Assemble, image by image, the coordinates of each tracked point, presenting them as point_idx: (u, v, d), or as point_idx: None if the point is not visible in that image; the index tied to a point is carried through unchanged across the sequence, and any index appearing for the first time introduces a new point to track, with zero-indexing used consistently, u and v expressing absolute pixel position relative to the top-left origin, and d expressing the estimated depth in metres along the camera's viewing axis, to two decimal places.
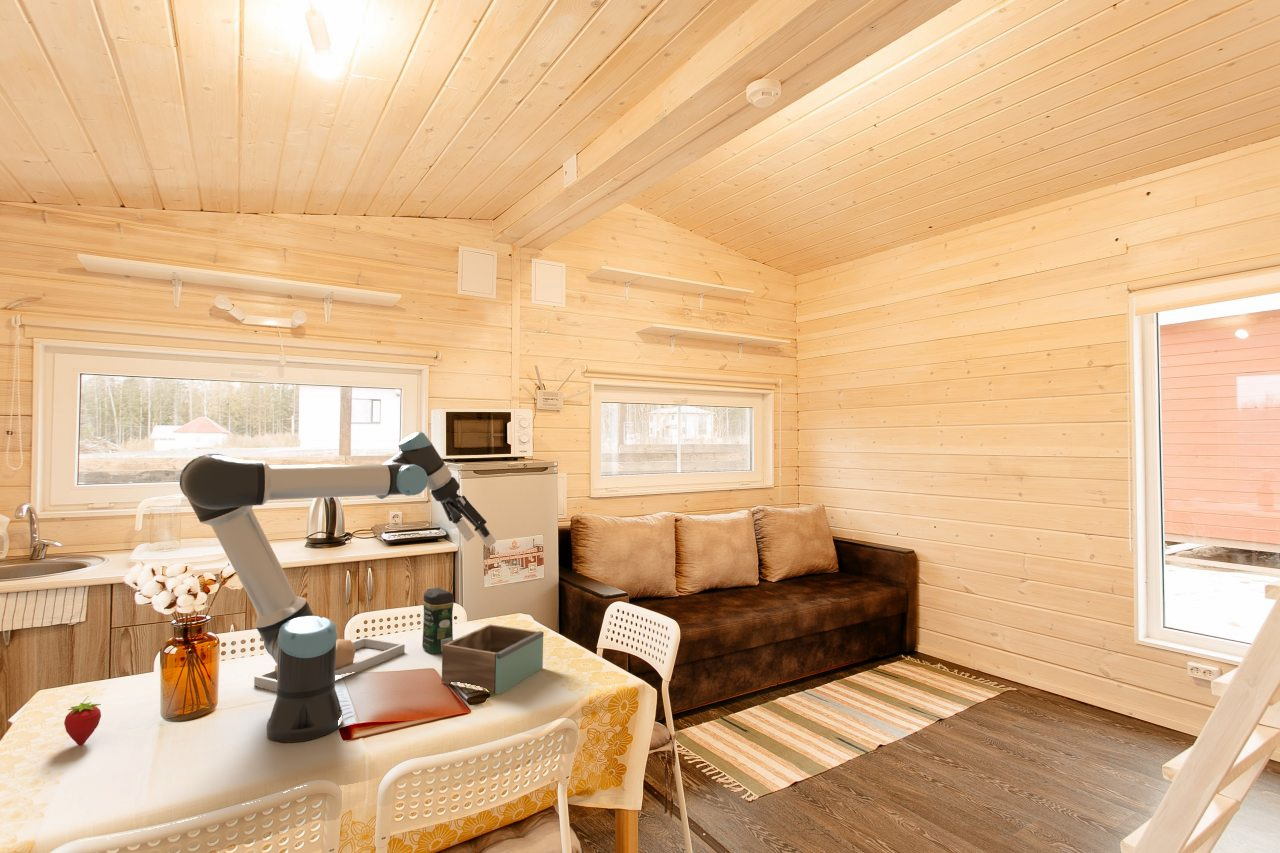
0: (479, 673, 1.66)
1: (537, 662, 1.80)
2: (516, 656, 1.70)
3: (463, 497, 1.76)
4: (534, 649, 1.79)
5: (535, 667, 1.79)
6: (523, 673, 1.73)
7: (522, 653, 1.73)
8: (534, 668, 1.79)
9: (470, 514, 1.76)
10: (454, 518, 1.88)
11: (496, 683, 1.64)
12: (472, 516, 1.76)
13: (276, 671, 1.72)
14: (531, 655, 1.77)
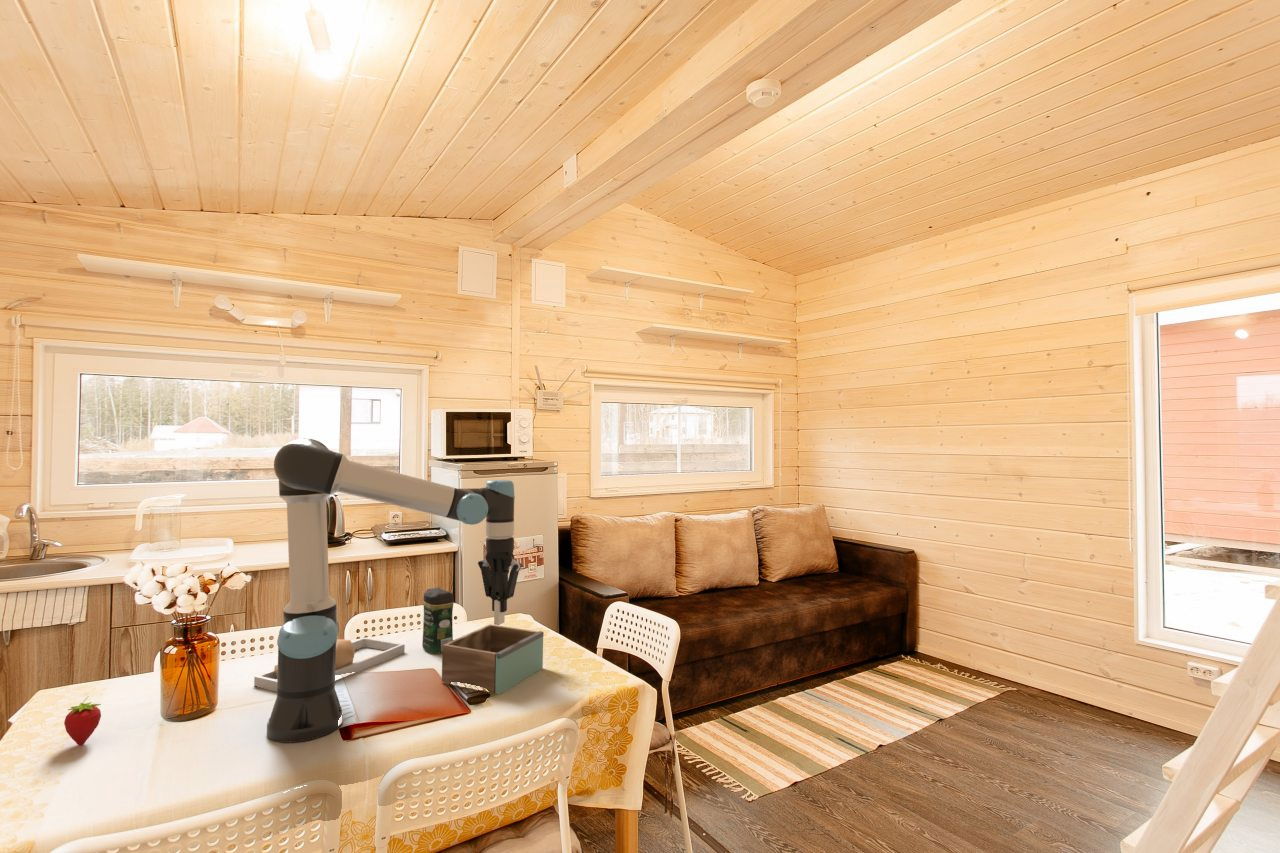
0: (479, 673, 1.66)
1: (537, 662, 1.80)
2: (516, 656, 1.70)
3: (520, 566, 1.75)
4: (534, 649, 1.79)
5: (535, 667, 1.79)
6: (523, 673, 1.73)
7: (522, 653, 1.73)
8: (534, 668, 1.79)
9: (512, 583, 1.74)
10: (495, 589, 1.76)
11: (496, 683, 1.64)
12: (511, 586, 1.74)
13: (275, 671, 1.72)
14: (531, 655, 1.77)
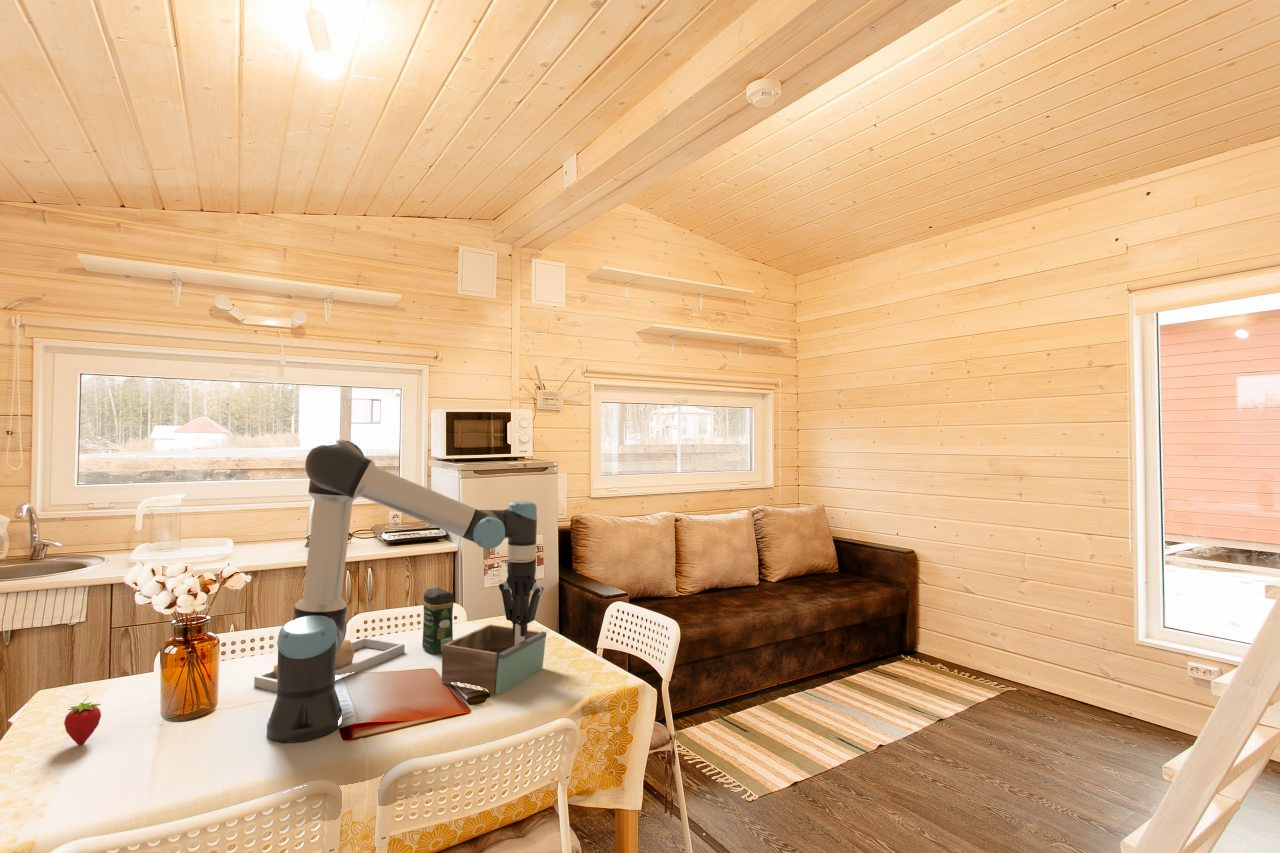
0: (479, 673, 1.66)
1: (538, 662, 1.80)
2: (518, 656, 1.70)
3: (542, 590, 1.72)
4: (536, 649, 1.78)
5: (535, 667, 1.79)
6: (523, 673, 1.73)
7: (524, 653, 1.73)
8: (534, 669, 1.79)
9: (533, 607, 1.71)
10: (516, 613, 1.73)
11: (497, 682, 1.64)
12: (533, 610, 1.72)
13: (275, 671, 1.72)
14: (532, 655, 1.77)
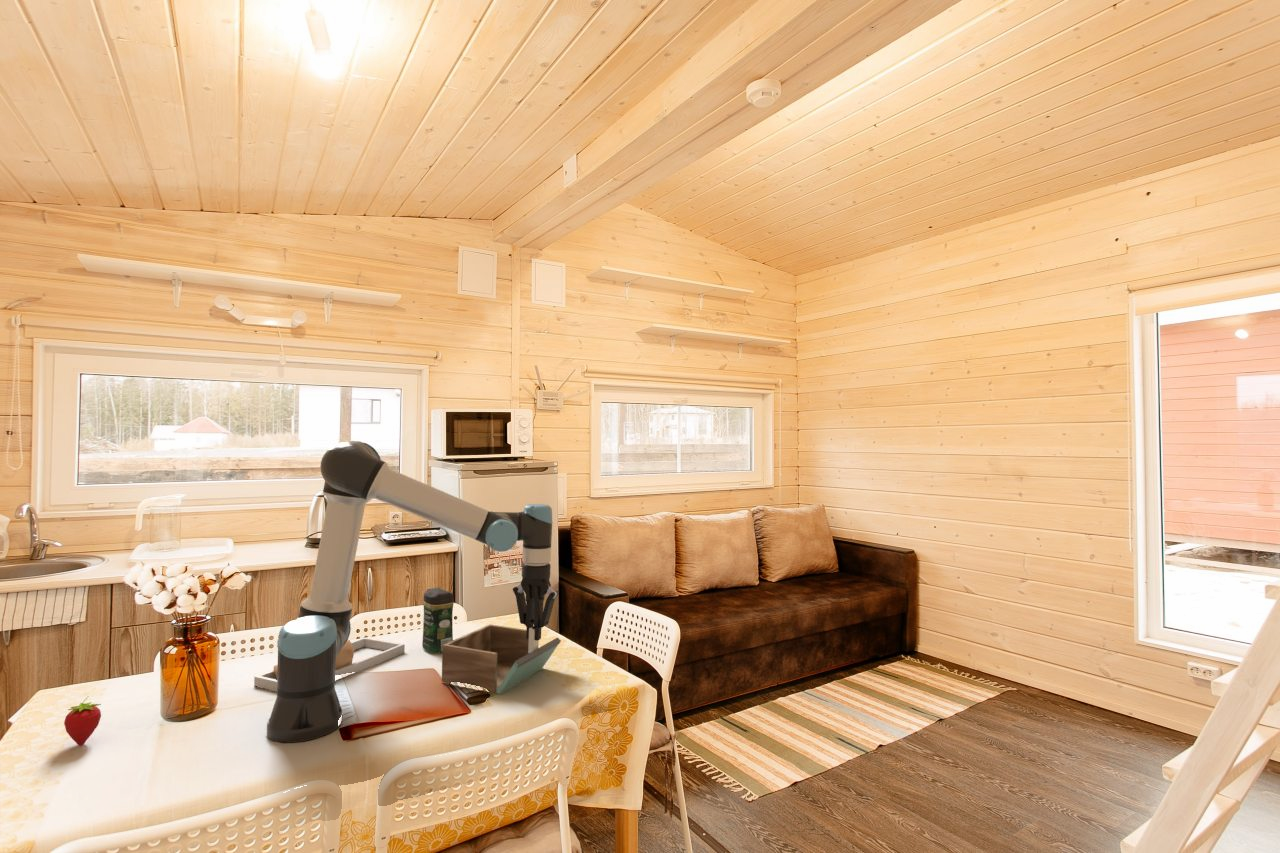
0: (479, 673, 1.66)
1: (541, 664, 1.80)
2: (529, 663, 1.69)
3: (557, 594, 1.71)
4: (545, 655, 1.77)
5: (537, 669, 1.79)
6: (526, 675, 1.73)
7: (535, 660, 1.71)
8: (536, 670, 1.78)
9: (548, 611, 1.70)
10: (530, 616, 1.72)
11: (502, 684, 1.63)
12: (547, 614, 1.70)
13: (275, 671, 1.72)
14: (540, 660, 1.76)
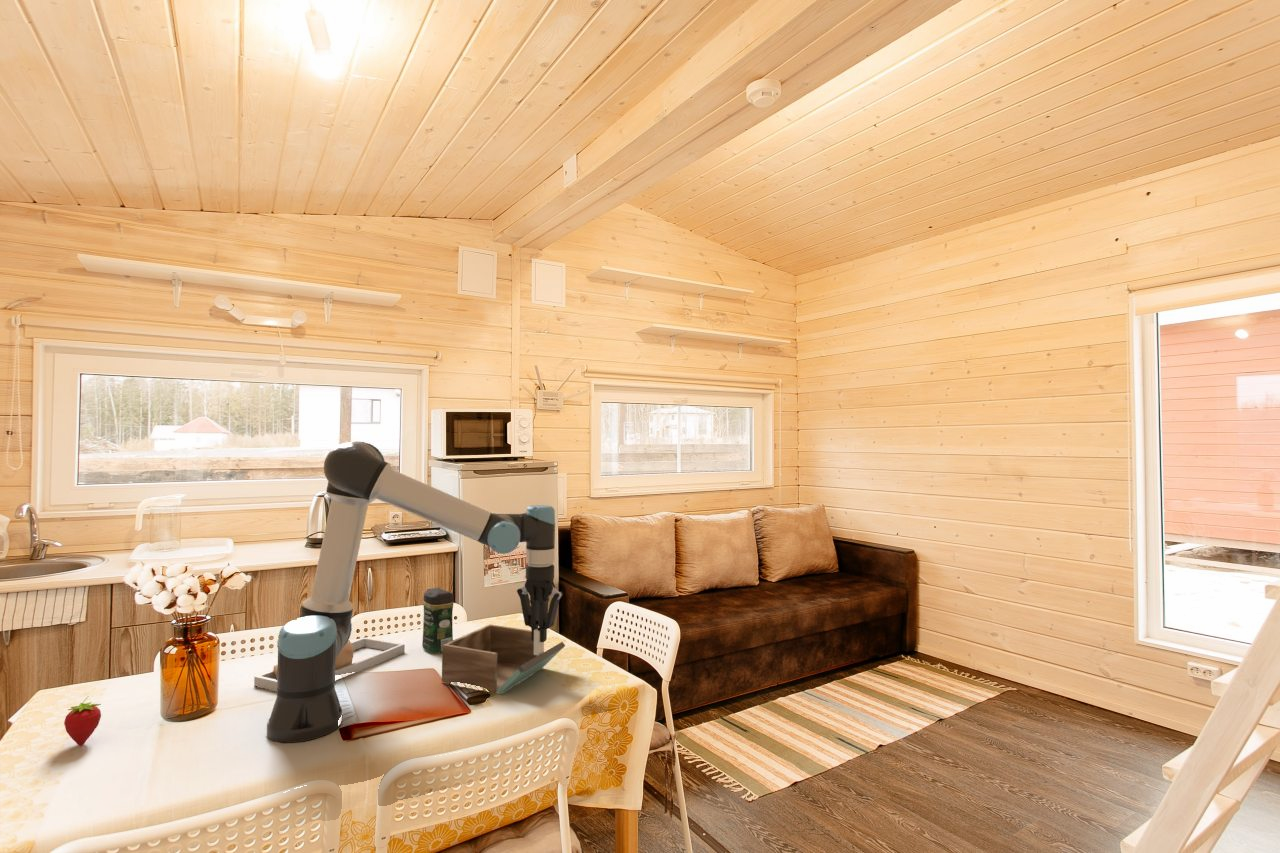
0: (479, 673, 1.66)
1: (542, 665, 1.79)
2: (533, 667, 1.68)
3: (561, 594, 1.70)
4: (548, 658, 1.77)
5: (538, 669, 1.79)
6: (527, 676, 1.73)
7: (538, 664, 1.71)
8: (536, 670, 1.78)
9: (553, 612, 1.69)
10: (535, 618, 1.71)
11: (503, 685, 1.63)
12: (552, 615, 1.69)
13: (275, 671, 1.72)
14: (542, 663, 1.76)
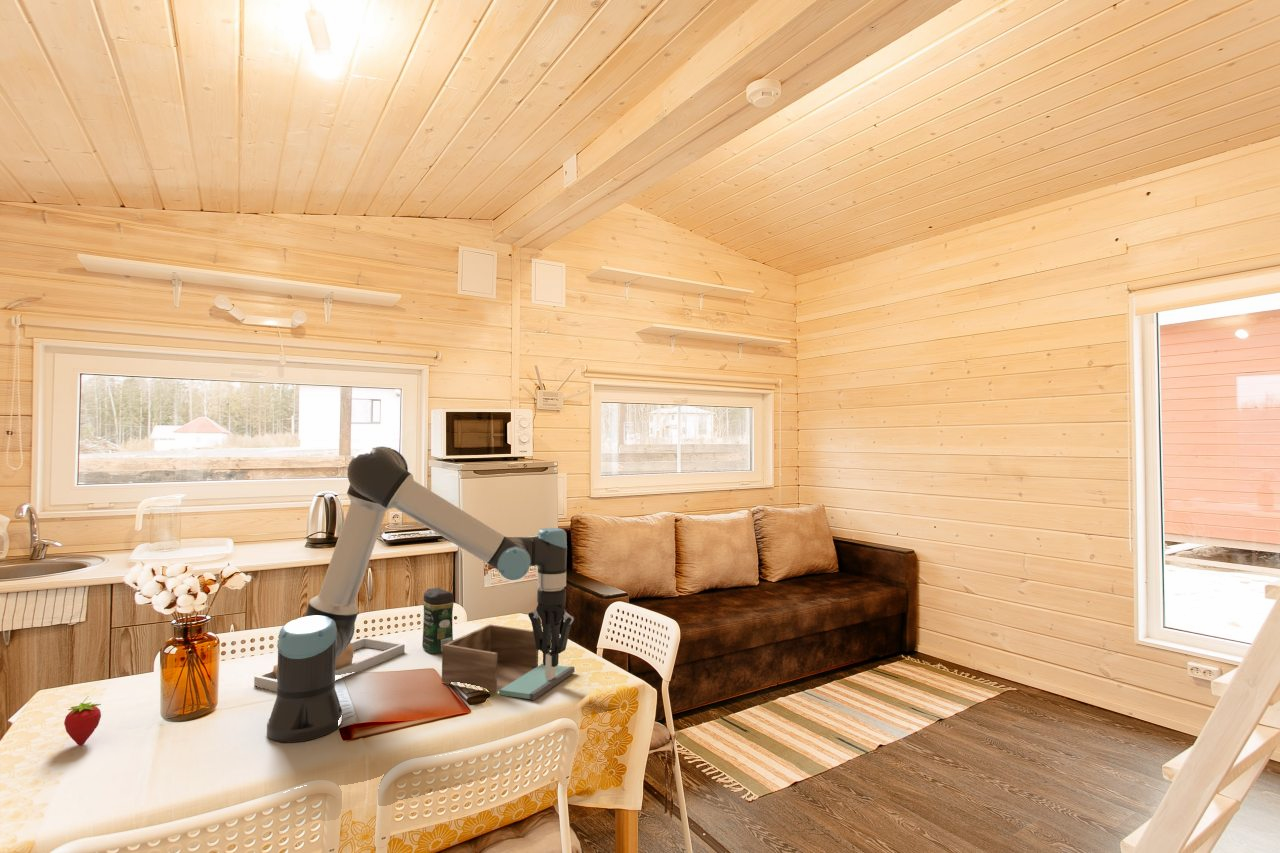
0: (479, 673, 1.66)
1: None
2: None
3: (573, 619, 1.68)
4: None
5: None
6: None
7: None
8: None
9: (565, 637, 1.68)
10: (546, 642, 1.69)
11: (508, 692, 1.62)
12: (564, 640, 1.68)
13: (274, 671, 1.72)
14: None
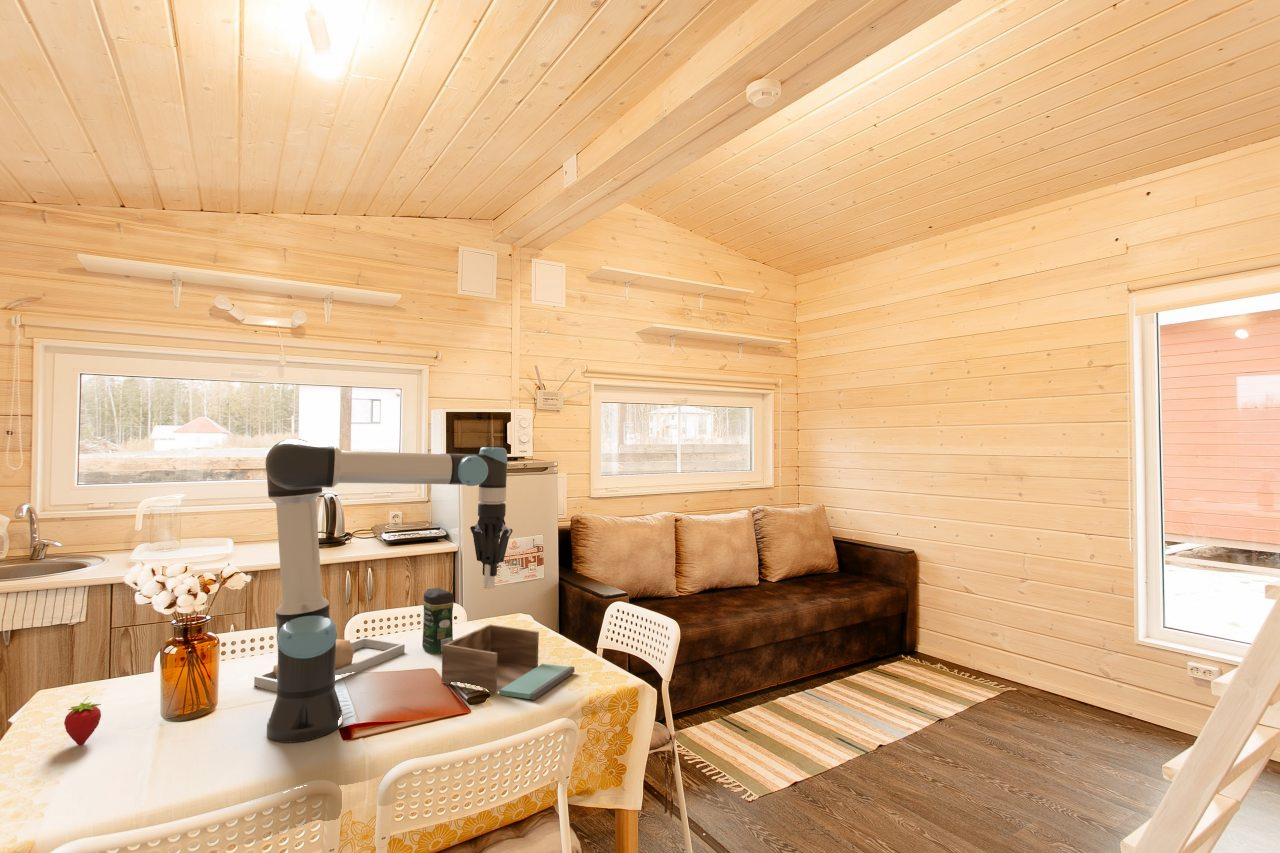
0: (479, 673, 1.66)
1: None
2: None
3: (511, 531, 1.78)
4: None
5: None
6: None
7: None
8: None
9: (502, 548, 1.78)
10: (486, 553, 1.80)
11: (508, 692, 1.62)
12: (501, 550, 1.78)
13: (274, 671, 1.72)
14: None
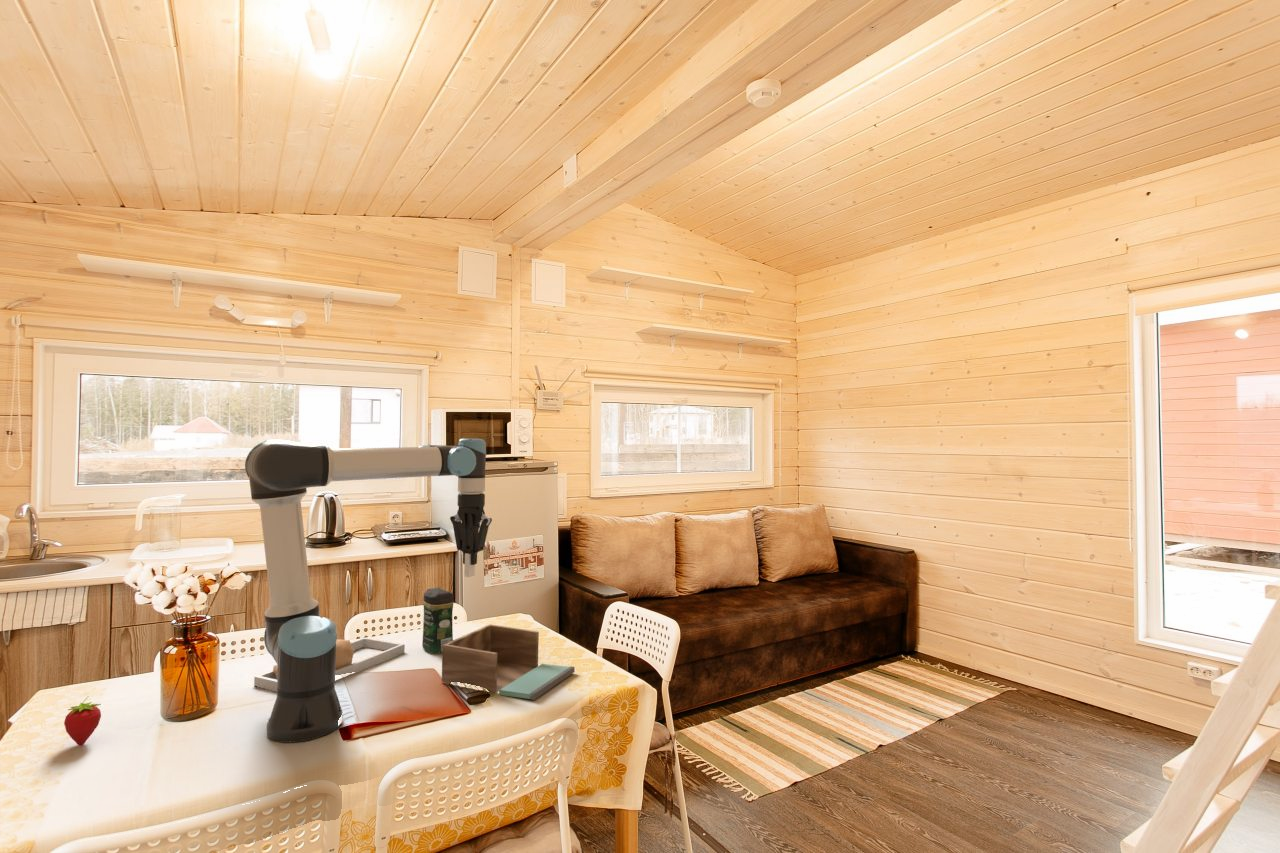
0: (479, 673, 1.66)
1: None
2: None
3: (490, 520, 1.82)
4: None
5: None
6: None
7: None
8: None
9: (482, 537, 1.82)
10: (466, 543, 1.83)
11: (508, 692, 1.62)
12: (481, 539, 1.82)
13: (274, 671, 1.72)
14: None
